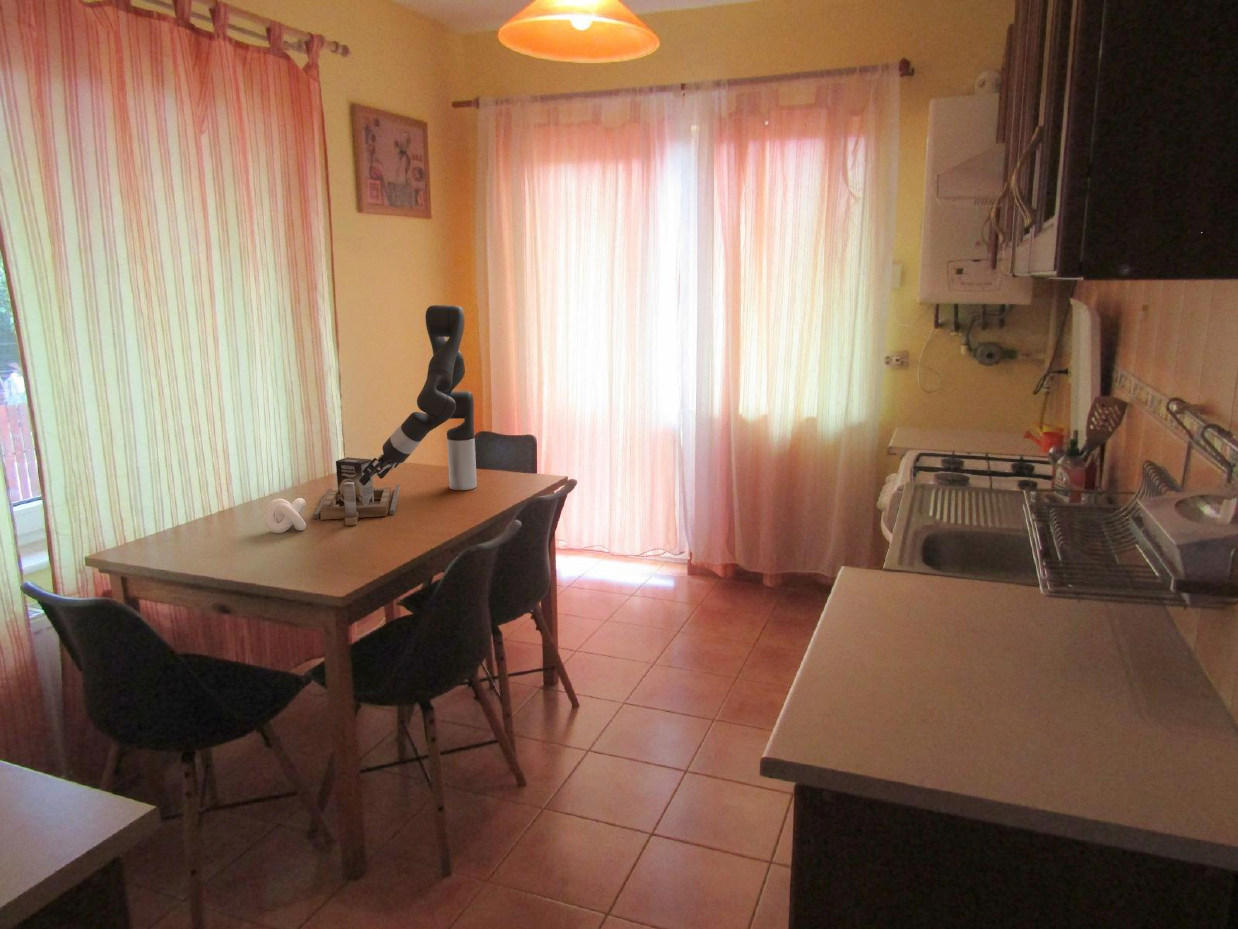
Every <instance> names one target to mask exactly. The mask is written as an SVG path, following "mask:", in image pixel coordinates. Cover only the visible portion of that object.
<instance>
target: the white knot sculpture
mask: <svg viewBox="0 0 1238 929" xmlns="http://www.w3.org/2000/svg"><path fill="white" fill-rule="evenodd" d="M306 504H307V503H306V501H305V499H304V498H302V497H298V498H296V499H294V500H293V501H292V502H291V503H290V501H288V500H286V499H283V498H276V499H273V500H271V501H270V502H269V503H268V504H266V507H265V509H264V511H263V522H264V525H265V526H266V528H267V529H268V530H269V531H270V532H271V533H274V534H283V533H285V532H287V531H288V530H289V529H291V527H292V526H293V527H294V528H295V530H296V531H299V532H300V531H304V530H305V529H306V528H307V524H306V523H307V522H305V520H304V519H303V517H302V515H303V513H304V511H305V509H306Z"/></svg>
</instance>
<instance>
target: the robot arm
mask: <svg viewBox="0 0 1238 929" xmlns="http://www.w3.org/2000/svg"><path fill="white" fill-rule="evenodd" d="M424 317H425V326H426V331H427V335H428V337H429V341H430V345H431V348H432V354H433V356H432V357H431V358H430V360H429V363H428V368H427V375H426V380H425V382H424V385H423V386H422V389H421V391H420V392H419V394H418V396H417V397H416V405H417V408H418V409H419V410H420V411H414V412H411V414H409V416H407V418H406V419H405V420H404V421H403V422H402V424H401V425H399V427H397V428H396V429H395V430H394V431H393V433H392V434H391V435H390V436H389V437H388V438H387V439H386V441H385V442H384V443H383V444H382V448H381V449H382V453H383V454H380V455H379V456H378V457H377V458H376V457H374V458H373V459H372V461H371V462H370V463H369V464H368V466H367V467H366V468H365V469H364V470H363V471H362V472H363V473H364V475H363V476H362V477H361V478H360V480H359V482H360V483H361V484H362V485H363V486H364V485H366V484H367V483H368V482H369V481H370V479H371V478H372V477H373V478H374V477H375V476H378V478H379V479H380V480H381V479H384V478H385V477H386V476H387V475H388V473H389V472H390V471H392V470H393V469H396V468H397V467H398V466H399V465H400V464H403V463H404V462H405V461H407V459H408V458H409V457H410V456H411V455H412V454H413V452H415V450H416V449H418V446H419V444H420V443H421V442H422V441H423V439H424V438H426V436H427V435H428V434H429V433H430V432H432V430H433V431H434V429H436V428H438V427H439V426H441V425H442V424H444V423H446V422H447V421H448V420H450V419H451V420H453V419H455V420H458V419H459V420H460V419H464V421H463V422H462V423H460V424H459V425H457V426H454V427H452V428H450V429H448V430H447V431H446V443H447V444H446V447H447V460H448V462H447V463H448V482H449V484H448V485H449V489H450V490H454V491H468V490H473V489H476V488H477V483H478V482H477V463H476V461H477V460H476V459H477V458H476V442H475V440H476V438H475V425H474V421H475V420H474V417H475V416H474V415H475V414H474V412H475V404H474V403H475V401H474V399H475V398H474V395H473V393H472V392H471V391H470V390H458V391H457V390H456V391H455V390H454V389H455V388H457V386H458V385H459V384H460V383H461V382H462V380H463V378H464V377H465V374H466V367H465V359H464V356H463V353H462V352H461V350H459V349H460V345H461V342H462V339H463V335H464V330H465V321H466V320H465V319H466V318H465V312H464V309H463V307H461V306H459V305H445V304H444V305H442V304H441V305H439V304H433V305H429V306H428V307H427V309H426V311H425V316H424ZM370 470H371V472H370Z"/></svg>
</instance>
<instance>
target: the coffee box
mask: <svg viewBox="0 0 1238 929" xmlns="http://www.w3.org/2000/svg"><path fill="white" fill-rule="evenodd" d="M372 460H373V459H371V458H360V457H359V458H358V457H345V458H340V459H337V460H336V461H335V468H336V482H337V484H336V485H337V490H338V498H339V501H338V506H345V503H344V491H343V483H347V482H354V484H355V497H356V505H374V504H375V499H374V493H373V488H374V480H373V479H374V476H373V477H372V478H371V479H370V481H369V482H368V483H367V484H366V485H364V486H363V485H362V484H361V483H360V482H359V480H360V478H361V477H362V476H363V475H364V473H363V472H362V471H363V470H364V469H365V468H366V467H367V466H368V464H369V463H370V462H371V461H372ZM370 472H371V470H370Z"/></svg>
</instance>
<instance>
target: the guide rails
mask: <svg viewBox="0 0 1238 929" xmlns="http://www.w3.org/2000/svg"><path fill="white" fill-rule="evenodd" d="M331 490H333V488H328V489H327V490H326V492H325V493H324V495H323V497H322V499H321V501H320V502H319V505H318V506H317V508H316V510H315V512H313V513H314V514H313V520H319V519H320V518H321V515H320V509H321V507H322V505H323V504H324V502H325V500H326V498H327V496H328V494H329V493H330V491H331ZM399 490H401V486H400V484H398V485H395V488H394V492H393V496H392V500H391V502H390V503H391V504H390V507H389V515H390V516H393V514H394V515H395V514H396V513H395V512H396V510H397V503H398V500H399V496H398V495H400V491H399ZM318 518H319V519H318Z"/></svg>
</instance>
